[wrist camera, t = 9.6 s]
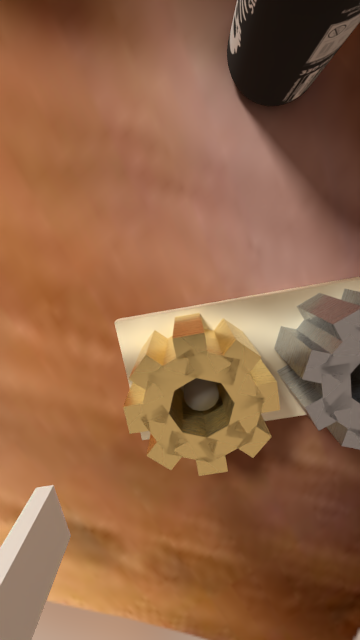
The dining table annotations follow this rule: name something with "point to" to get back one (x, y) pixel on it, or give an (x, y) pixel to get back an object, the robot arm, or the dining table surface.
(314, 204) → the dining table surface
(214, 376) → the brass gear
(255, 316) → the gear board
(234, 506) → the dining table surface
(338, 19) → the beverage can
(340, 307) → the gear
